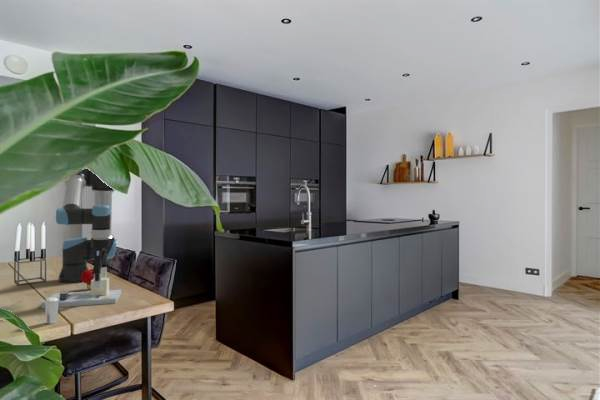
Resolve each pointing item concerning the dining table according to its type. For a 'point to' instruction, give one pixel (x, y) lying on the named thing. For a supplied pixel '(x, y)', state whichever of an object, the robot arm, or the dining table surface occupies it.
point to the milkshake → (51, 310)
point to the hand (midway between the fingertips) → (100, 284)
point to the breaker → (63, 295)
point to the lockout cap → (103, 289)
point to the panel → (86, 298)
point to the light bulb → (87, 277)
